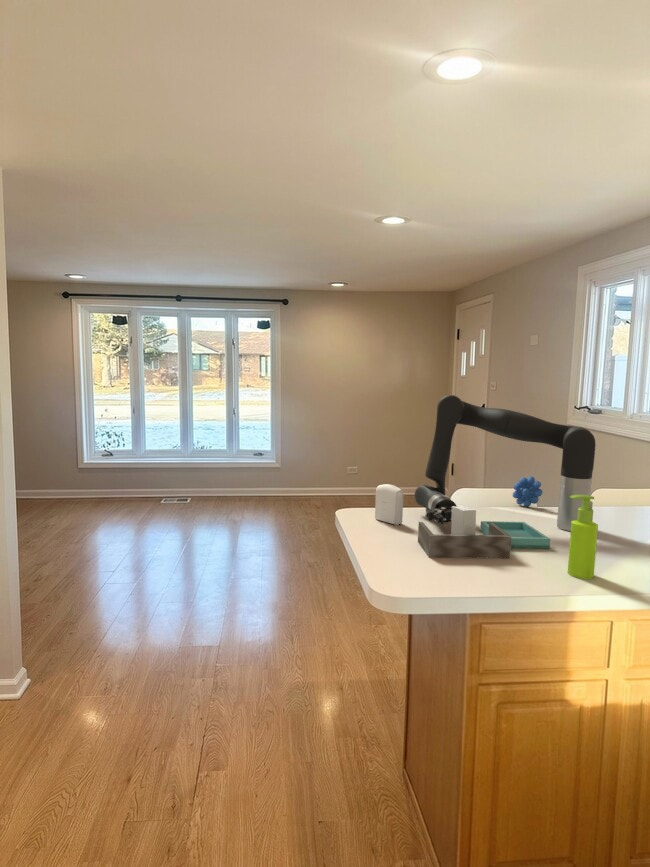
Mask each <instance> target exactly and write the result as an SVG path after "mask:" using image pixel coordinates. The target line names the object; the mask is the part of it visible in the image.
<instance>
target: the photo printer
mask: <svg viewBox="0 0 650 867" xmlns="http://www.w3.org/2000/svg"><path fill="white" fill-rule="evenodd" d="M374 499H375V501H374V502H375V503H374V505H375V506H374V509H375V510H374V519H376V520H377V521H381V522H384V523H389V524H390V525H391V524H392V525H395V526H398V525H399V524H400V525H401V524H403V516H404V514H403V513H404V512H403V510H404V492H403V490H402V489H401V488H399V487H398V486H396V485H394V484H389V483H388V484H387V483H386V484H380V485H378V486H376V489H375V498H374Z"/></svg>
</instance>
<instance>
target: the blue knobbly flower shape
mask: <svg viewBox="0 0 650 867" xmlns="http://www.w3.org/2000/svg"><path fill="white" fill-rule="evenodd" d="M541 485H542V483H541V481H539V480H536V478H535V477H534V476H529V477H528V478H526V477H524V476H523V477H521V478H520V479H519V481H518V482H517V483H515V484H514V485H513V490H514V491H513V493H512V497H513V499H516V501H515V502H516V504H517V505H519V506H521V505H523V506H524V507H525V508H528V507H530V506H531V505H532V504H533V505H536V504H537V503H539V500H540V499H539V497H541V496H542V495H543V490H542V489H541Z"/></svg>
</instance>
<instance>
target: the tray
mask: <svg viewBox="0 0 650 867" xmlns="http://www.w3.org/2000/svg"><path fill="white" fill-rule="evenodd" d="M489 523H494V524H495V525H496V526H498V527H499V528H500V529H502V530H503V531H504V532H506V533H507V534H508V535H510V536H511V549H517V550H518V549H519V550H520V549H522V550H523V549H524V550H525V549H526V550H527V549H529V550H530V549H531V550H537V549H538V550H540V549H541V550H550V549H551V548H550V547H551V538H550V537H548V536H546V535H545V534H544V533H543V532H540V531H539V530H537V529H536V528H534V527H533V526H531V525H529V524H528V523H526V522H525V521H499V520H498V521H494V520H493V521H491V520H489V521H488V520H485V521H484V520H481V521H480V530H479V531H480V532H482V533H483V535H488V533H489Z"/></svg>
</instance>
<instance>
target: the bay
mask: <svg viewBox="0 0 650 867" xmlns="http://www.w3.org/2000/svg"><path fill="white" fill-rule="evenodd" d="M417 543H418V545H419V546H420V548H421V549H422V550H423V551H424V552H425V555H426V556H427V557H428V558H433V559H434V558H435V559H436V558H438V559H439V558H440V559H442V558H445V557H446V558H445V559H451V558H452V559H511V549H512V548H511V536H510V535H508V534H507V533H506V532H504V531H503V530H502V529H500V528H499V527H498V526H496V525H495V524H494V523H489V533H488V535H485V534H475V535H451V534H447V533H446V534H445V533H444V534H438V533H436V534H435V533H433V532H432V531H431V529H430V528H428V525H426V523H425V522H423V521H418V530H417Z"/></svg>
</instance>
